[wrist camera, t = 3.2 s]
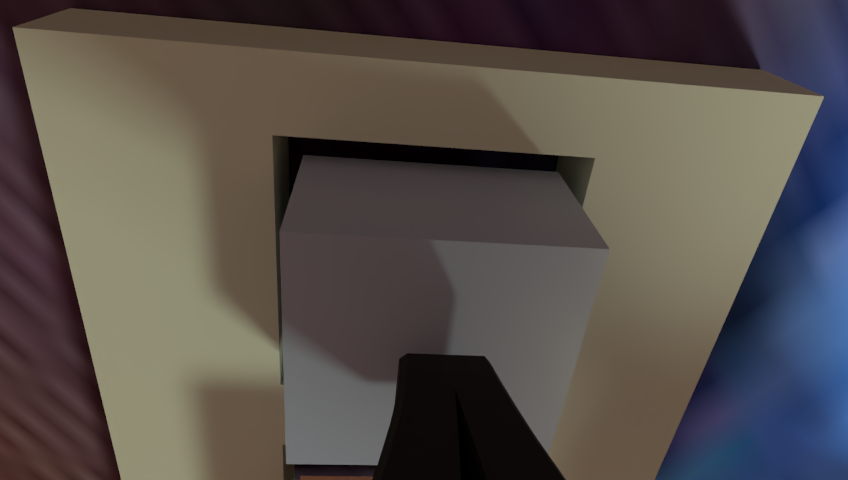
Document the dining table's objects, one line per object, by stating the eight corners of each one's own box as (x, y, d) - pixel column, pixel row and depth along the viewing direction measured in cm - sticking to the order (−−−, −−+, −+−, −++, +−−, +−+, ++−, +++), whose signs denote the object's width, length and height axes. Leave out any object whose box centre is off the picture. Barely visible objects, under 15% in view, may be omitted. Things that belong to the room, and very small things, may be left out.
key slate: (558, 172, 12) (609, 249, 9) (514, 363, 14) (544, 467, 11) (302, 154, 11) (279, 231, 8) (304, 356, 13) (285, 463, 11)
